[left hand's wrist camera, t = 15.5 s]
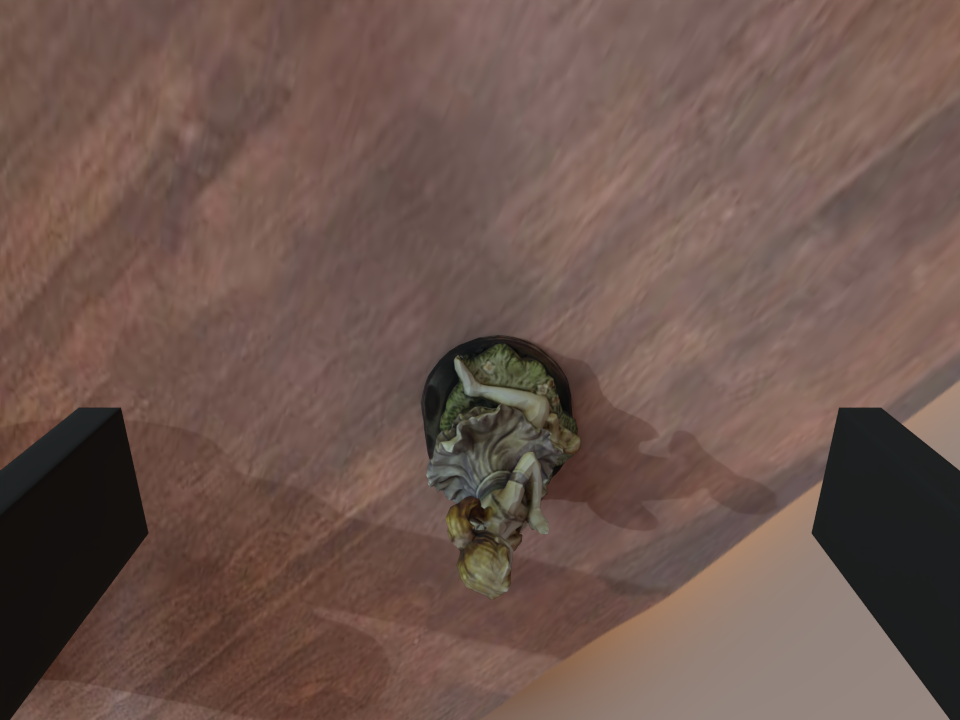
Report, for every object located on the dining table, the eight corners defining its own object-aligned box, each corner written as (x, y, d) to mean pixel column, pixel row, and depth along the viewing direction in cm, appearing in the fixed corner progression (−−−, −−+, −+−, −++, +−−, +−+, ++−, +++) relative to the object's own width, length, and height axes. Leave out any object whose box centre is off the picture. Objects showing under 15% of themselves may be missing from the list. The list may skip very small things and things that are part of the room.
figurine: (539, 514, 48) (563, 686, 34) (394, 468, 47) (358, 628, 33) (608, 369, 44) (667, 499, 30) (450, 315, 43) (436, 424, 29)
